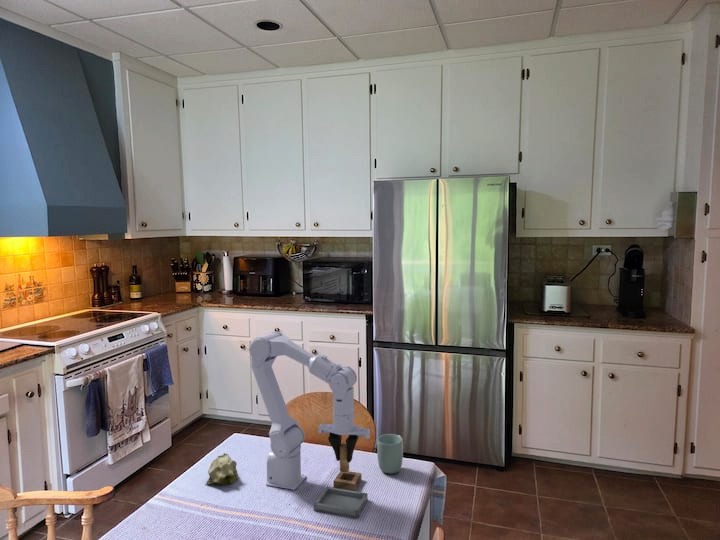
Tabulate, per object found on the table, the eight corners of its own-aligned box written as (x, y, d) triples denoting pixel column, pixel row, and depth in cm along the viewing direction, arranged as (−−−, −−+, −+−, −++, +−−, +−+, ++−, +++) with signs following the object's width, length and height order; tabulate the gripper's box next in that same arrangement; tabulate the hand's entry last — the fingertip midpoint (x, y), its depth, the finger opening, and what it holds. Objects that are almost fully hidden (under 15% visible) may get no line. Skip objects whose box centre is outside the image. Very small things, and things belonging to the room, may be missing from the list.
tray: (314, 510, 126) (313, 504, 126) (326, 492, 135) (326, 486, 135) (357, 518, 123) (357, 511, 123) (367, 499, 131) (367, 493, 131)
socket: (333, 487, 138) (333, 480, 138) (341, 476, 144) (341, 470, 144) (354, 490, 136) (354, 484, 136) (361, 479, 142) (361, 473, 142)
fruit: (215, 476, 147) (219, 450, 148) (242, 482, 145) (246, 455, 146) (198, 486, 138) (203, 457, 139) (228, 493, 136) (232, 464, 137)
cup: (401, 478, 143) (401, 445, 142) (375, 475, 144) (375, 443, 143) (404, 465, 150) (404, 434, 150) (379, 463, 152) (379, 432, 151)
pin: (338, 471, 133) (338, 447, 132) (341, 467, 135) (341, 443, 135) (347, 472, 132) (347, 448, 131) (350, 468, 134) (350, 444, 134)
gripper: (372, 409, 134) (373, 456, 135) (324, 404, 138) (325, 450, 139) (365, 419, 127) (366, 468, 128) (314, 413, 131) (315, 461, 132)
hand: (344, 460), depth 133 cm, fingers closed on pin, 3 cm apart
